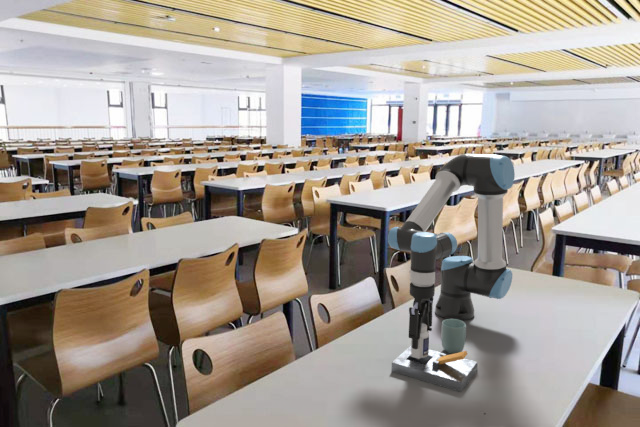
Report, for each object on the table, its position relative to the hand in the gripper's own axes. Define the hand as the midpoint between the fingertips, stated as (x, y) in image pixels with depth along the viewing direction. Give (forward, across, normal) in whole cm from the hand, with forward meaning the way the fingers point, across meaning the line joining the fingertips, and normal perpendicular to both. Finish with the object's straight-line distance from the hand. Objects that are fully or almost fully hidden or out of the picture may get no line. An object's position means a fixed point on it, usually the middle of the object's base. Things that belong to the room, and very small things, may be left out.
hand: (419, 353), depth 162 cm
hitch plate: (+5, 0, +5) cm, 7 cm away
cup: (+5, -16, +5) cm, 18 cm away
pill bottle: (+1, 0, 0) cm, 1 cm away
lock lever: (-1, 0, +10) cm, 10 cm away
